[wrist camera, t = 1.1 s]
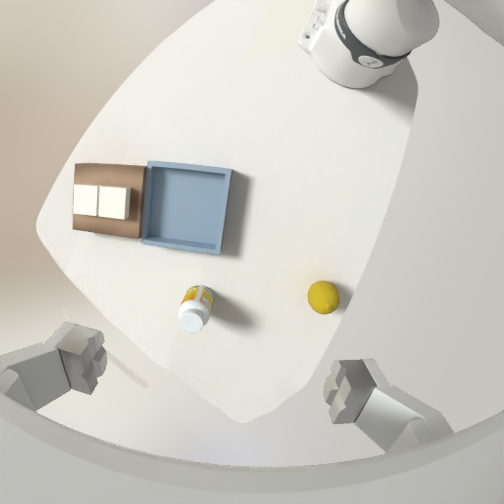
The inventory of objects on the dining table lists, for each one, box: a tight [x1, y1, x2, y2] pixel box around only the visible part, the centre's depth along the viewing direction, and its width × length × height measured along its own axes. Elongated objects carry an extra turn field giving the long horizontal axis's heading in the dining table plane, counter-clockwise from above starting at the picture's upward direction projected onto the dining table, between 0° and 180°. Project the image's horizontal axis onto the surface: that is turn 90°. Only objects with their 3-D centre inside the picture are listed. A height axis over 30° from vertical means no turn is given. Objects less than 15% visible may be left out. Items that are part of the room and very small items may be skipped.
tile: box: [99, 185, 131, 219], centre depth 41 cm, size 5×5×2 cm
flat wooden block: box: [73, 163, 147, 239], centre depth 44 cm, size 12×14×4 cm
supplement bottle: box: [179, 285, 213, 333], centre depth 47 cm, size 5×5×10 cm
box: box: [141, 161, 232, 255], centre depth 45 cm, size 14×14×4 cm
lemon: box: [308, 281, 339, 314], centre depth 48 cm, size 6×6×8 cm
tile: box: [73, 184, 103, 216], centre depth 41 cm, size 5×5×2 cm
